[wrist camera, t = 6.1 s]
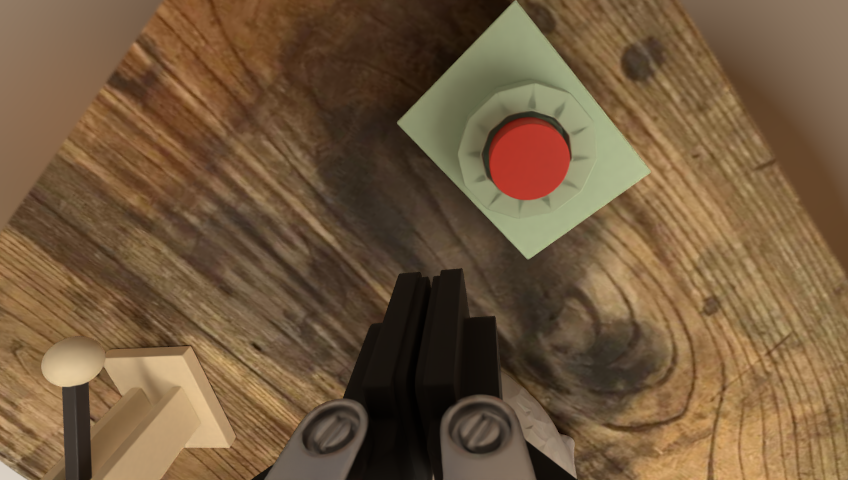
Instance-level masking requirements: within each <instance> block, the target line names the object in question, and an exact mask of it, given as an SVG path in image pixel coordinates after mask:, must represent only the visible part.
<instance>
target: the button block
mask: <svg viewBox="0 0 848 480" xmlns="http://www.w3.org/2000/svg"><path fill="white" fill-rule="evenodd" d="M522 117H536V118H540V119H543V120H545V121H547V122H548V123H550V124H551V125H552V126H553V127H554V128H555V129H556V130H557V131H558V132H559V133H560V135H561V136H562V137H563V138H564V140H565V142H566V143H567V146H568V149H569V153H570V165H569V169H568V172H567V175H566V176H565V178H564V180H563V181H562V183H561V184H560V185H559V186H558V187H557V188H556V189H555V190H554V191H553V192H551V193H550V194H548V195H546V196H544V197H541V198H538V199H534V200H519V199H515V198H512V197H510V196H508V195H506V194H504V193H503V192H502V191H501V190H500V189H499V188H498V187H497V186H496V185H495V183H494V181H493V179H492V177H491V174H490V168H489V148H490V144H491V142H492V139H493V138H494V136H495V134H496V133H497V132H498V131H499V130H500V129H501V128H502V127H503V126H504V125H505V124H507V123H509V122H510V121H512V120H515V119H518V118H522ZM397 124H398V125H399V126H400V127H401V128H402V129H403V130H404V131H405V132H406V133H407V134H408V135H409V136H410V137H411V139H412V140H413V141H414V142H415V143H416V144H417V145H418V146H419V147H420V148H421V149H422V150H423V151H424V152H425V153H426V154H427V155H428V156H429V157H430V158H431V159H432V160H433V161H434V162H435V164H436V165H437V166H438V167H439V168H440V169H441V170H442V171H443V172H444V173H445V174H446V175H447V176H448V177H449V178H450V179H451V180H452V181H453V182H454V183H455V184H456V185H457V186H458V187H459V188H460V190H461V191H462V192H463V193H464V194H465V195H466V196H467V197H468V198H469V199H470V200H471V201H472V202H473V203H474V204H475V205H476V206H477V207H478V208H479V209H480V210H481V211H482V212H483V213H484V215H485V216H486V217H487V218H488V219H489V220H490V221H491V222H492V223H493V224H494V225H495V226H496V227H497V228H498V229H499V230H500V231H501V232H502V233H503V234H504V235H505V236H506V237H507V238H508V239H509V241H510V242H511V243H512V244H513V245H514V246H515V247H516V248H517V249H518V250H519V251H520V252H521V253H522V254H523V255H524V256H525V257H526V258H527V259H530V258H531V257H533V256H534V255H535V254H537V253H538V252H540V251H541V250H542V249H544V248H545V247H547V246H548V245H549V244H551V243H552V242H554V241H555V240H557V239H558V238H559V237H561V236H562V235H564V234H565V233H566V232H568V231H569V230H571V229H572V228H573V227H575V226H576V225H578V224H579V223H580V222H582V221H583V220H585V219H586V218H587V217H589V216H590V215H592V214H593V213H594V212H596V211H597V210H599V209H600V208H601V207H603V206H604V205H606V204H607V203H608V202H610V201H611V200H613V199H614V198H615V197H617V196H618V195H620V194H621V193H622V192H624V191H625V190H627V189H628V188H629V187H631V186H632V185H634V184H635V183H637V182H638V181H639V180H641V179H642V178H644V177H645V176H646V175H648V174H649V173H650V172H651V170H650V169H649V168H648V167H647V165H646V164H645V163H644V162H643V160H642V159H641V158H640V156H639V155H638V154H637V153H636V151H635V150H634V149H633V148H632V146H631V145H630V144H629V143H628V141H627V140H626V139H625V137H624V136H623V135H622V134H621V132H620V131H619V130H618V129H617V127H616V126H615V125H614V124H613V122H612V121H611V120H610V118H609V117H608V116H607V115H606V113H605V112H604V111H603V110H602V108H601V107H600V106H599V105H598V103H597V102H596V101H595V100H594V98H593V97H592V96H591V94H590V93H589V92H588V91H587V89H586V88H585V87H584V86H583V84H582V83H581V82H580V81H579V79H578V78H577V77H576V75H575V74H574V73H573V72H572V70H571V69H570V68H569V67H568V65H567V64H566V63H565V62H564V60H563V59H562V58H561V56H560V55H559V54H558V53H557V51H556V50H555V49H554V48H553V46H552V45H551V44H550V43H549V41H548V40H547V39H546V37H545V36H544V35H543V34H542V32H541V31H540V30H539V29H538V27H537V26H536V25H535V24H534V22H533V21H532V20H531V19H530V17H529V16H528V15H527V13H526V12H525V11H524V10H523V8H522V7H521V6H520V5H519V3H518V2H517V1H516V0H515V1H513V3H512V4H511V5H510V6H509V7H508V8H507V9H506V10H505V11H504V12H503V13H502V14H501V15H500V16H499V17H498V18H497V19H496V20H495V21H494V22H493V23H492V24H491V25H490V26H489V27H488V28H487V29H486V30H485V32H484V33H483V34H482V35H481V36H480V37H479V38H478V39H477V40H476V41H475V42H474V43H473V44H472V45H471V46H470V47H469V48H468V49H467V50H466V51H465V52H464V53H463V54H462V55H461V56H460V57H459V58H458V59H457V61H456V62H455V63H454V64H453V65H452V66H451V67H450V68H449V69H448V70H447V71H446V72H445V73H444V74H443V75H442V76H441V77H440V78H439V79H438V80H437V81H436V82H435V83H434V84H433V85H432V86H431V87H430V88H429V90H428V91H427V92H426V93H425V94H424V95H423V96H422V97H421V98H420V99H419V100H418V101H417V102H416V103H415V104H414V105H413V106H412V107H411V108H410V109H409V110H408V111H407V112H406V113H405V114H404V115H403V116H402V117H401V119H400V120H399V121H398V122H397Z"/></svg>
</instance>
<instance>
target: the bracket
mask: <svg viewBox="0 0 848 480" xmlns="http://www.w3.org/2000/svg"><path fill="white" fill-rule="evenodd" d="M104 368H105V369H106V371H107V372H108V374H109V376H110V377H111V379H112V380H113V382H114V383H115V385H116V387H117V388H118V390H119V391H120V393H121V395H122V396H123V397H122V398H121V399H120V400H119V401H118V402H117V403H116V404H115V405H114V406H113V407H112V408H111V409H110V410H109V411H108V412H107V413H106V414H105V415H104V416H103V417H102V418H101V419H100V420H99V421H98V422H97V423H96V424H95V425H94V426H93V427H92V428H91V429H90V434H91V460H92V478H91V479H90V480H160V479H161V478H162V476H163V475H164V474H165V472H166V471H167V470H168V468H169V467H170V465H171V464H172V463H173V461H174V460H175V458H176V457H177V456H178V454H179V453H180V452H181V450H182V449H183V447H189V448H230V446H231V445H232V443H233V441H234V440H235V438H236V435H235V433H234V431H233V429H232V427H231V425H230V423H229V421H228V419H227V417H226V415H225V413H224V411H223V409H222V407H221V405H220V403H219V401H218V399H217V397H216V395H215V393H214V391H213V389H212V387H211V385H210V383H209V381H208V379H207V377H206V375H205V373H204V371H203V369H202V367H201V365H200V363H199V361H198V359H197V357H196V355H195V353H194V351H193V349H192V347H191V346H178V347H155V348H131V349H110V350H109V351H107V352H106V353H105V363H104ZM40 480H66V479H65V455H64V456H63V457H62V458H61V459H60V460H59V461H58V462H57V463H56V464H55V465H54V466H53V467H52V468H51V469H50V470H49V471H48V472H47V473H46V474H45V475H44V476H43V477H42V478H41V479H40Z"/></svg>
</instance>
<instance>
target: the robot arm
mask: <svg viewBox="0 0 848 480" xmlns="http://www.w3.org/2000/svg"><path fill="white" fill-rule="evenodd" d="M433 476H434V480H577V479H576V478H575V477H573V476H572V475H571V474H570V473H568V472H567V471H566V470H564V469H563V468H562V467H561V466H559V465H558V464H557V463H555V462H554V461H553V460H551V459H550V458H549V457H548V456H546V455H545V454H544V453H542V452H541V451H540V450H538V449H537V448H536V447H535V446H533V445H532V444H531V443H529V442H528V441H527V440H526V439H525V438H524V435H523V431H522V428H521V424H520V421H519V419H518V417H517V415H516V412H515V410H514V409H513V408H512V407H511V406H510V405H509V404H508V403H507V402H505V401H503V395H502V380H501V366H500V355H499V344H498V335H497V326H496V318H495V316H489V317H473V318H470V316H469V309H468V302H467V295H466V288H465V281H464V274H463V270H462V268H461V269H449V270H441V274H440V276H434V277H433V282H432V288H431V285H430V280H429V277H422V275H421V273H420V272H414V273H402V274H399V275H398V278H397V281H396V284H395V287H394V290H393V293H392V296H391V299H390V302H389V305H388V308H387V311H386V314H385V317H384V320H383V323H376V324H372V325H371V326H370V328H369V330H368V332H367V335H366V338H365V340H364V343H363V346H362V348H361V351H360V354H359V357H358V359H357V362H356V365H355V367H354V370H353V373H352V375H351V378H350V381H349V383H348V386H347V389H346V391H345V394H344V397H343V399H334V400H331V401H327V402H325V403H323V404H321V405H319V406H317V407H315V408H314V409H313V410H312V411H310V412H309V413H308V414H307V415H306V416H305V417H304V418H303V420H302V421H301V422H300V423H299V425H298V427H297V428H296V430H295V431H294V433H293V435H292V436H291V438H290V439H289V441H288V443H287V444H286V446H285V447H284V449H283V451H282V452H281V454H280V455H279V457H278V459H277V460H276V462H275V463H274V464H273V465H272V466H270V467H269V468H267V469H266V470H264V471H263V472H261V473H260V474H259V475H257V476H256V477H254V478H253V479H251V480H433Z"/></svg>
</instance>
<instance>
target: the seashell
mask: <svg viewBox="0 0 848 480" xmlns="http://www.w3.org/2000/svg"><path fill="white" fill-rule="evenodd" d="M501 380H502V395H503V401H505V402H507V403H508V404H509V405H510V406H511V407H512V408H513V409H514V410H515V412H516V415H517V417H518V419H519V421H520V424H521V428H522V431H523V435H524V438H525V439H526V440H527V441H528V442H529V443H531V444H532V445H533V446H535V447H536V448H537V449H538V450H540V451H541V452H542V453H544V454H545V455H546V456H548V457H549V458H550V459H551V460H553V461H554V462H555V463H557V464H558V465H559V466H561V467H562V468H563V469H564V470H566V471H567V472H568V473H570V474H571V475H572V476H573V477H575V478H576V479H577V476H576V471H575V465H574V446H575V443H574V440H573V439H572V438H571V437H569V436H566V435H563V434H559V433H558V431H557V429H556V427H555V425H554V424H553V422H552V420H551V419H550V417H549V416H548V414H547V413H546V412H545V410H544V409H543V408H542V406H541V405H540V403H539V402H538V401H537V400H536V399H535V398H534V397H533V396H531V395H530V394H529V393H528V391H527V390H526V389H525V388H524V387H522V386H520V385H519V384H518V383H516V382H515V381H514V380H513V379H512V378H511V377H510V376H508V375H507V374H505V373H504V372H502V371H501ZM433 480H434V476H433Z"/></svg>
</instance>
